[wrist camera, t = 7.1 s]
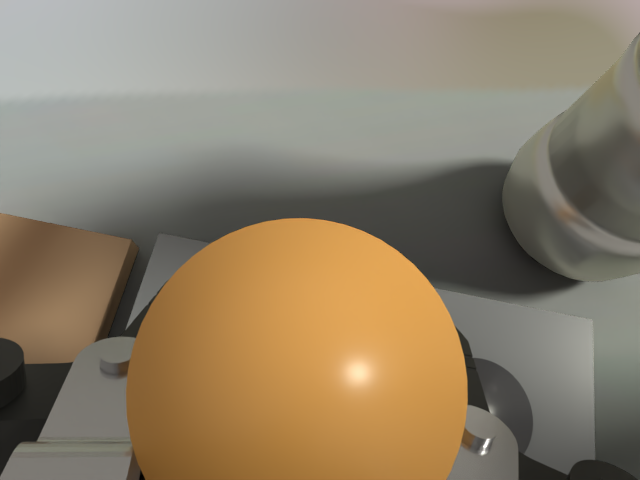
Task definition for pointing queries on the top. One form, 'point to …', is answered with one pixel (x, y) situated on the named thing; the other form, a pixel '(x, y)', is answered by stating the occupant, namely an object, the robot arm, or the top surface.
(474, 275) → the top surface
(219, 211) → the top surface
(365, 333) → the plug
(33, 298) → the board
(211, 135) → the top surface
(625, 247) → the plastic bottle
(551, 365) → the grey socket board
